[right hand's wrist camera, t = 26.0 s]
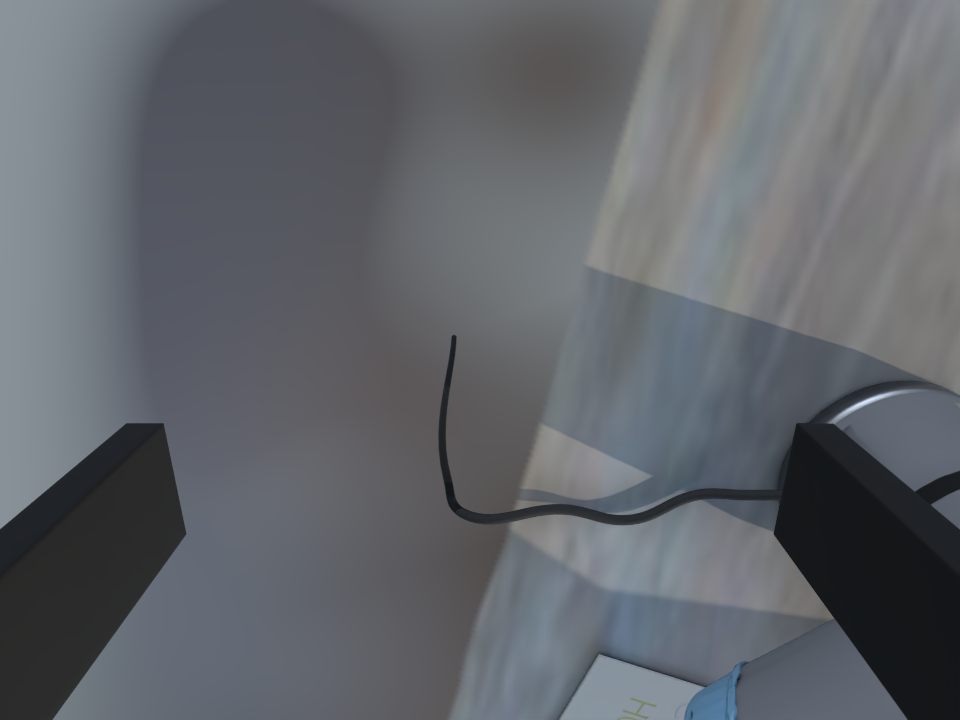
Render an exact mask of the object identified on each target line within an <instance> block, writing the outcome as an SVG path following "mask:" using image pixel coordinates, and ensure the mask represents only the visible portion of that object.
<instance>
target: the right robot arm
mask: <svg viewBox="0 0 960 720" xmlns="http://www.w3.org/2000/svg"><path fill="white" fill-rule="evenodd" d="M456 340H457V337H456V335H452V337H451V348H450V355H449V361H448V367H447V372H446V378H445V383H444V389H443V394H442V400H441V407H440V416H439V430H438V445H439V457H440V466H441V471H442V476H443V480H444V485H445V492H446V498H447V502H448V505H449V507H450V508H451V510H452V511H453V512H454V513H455V514H456V515H458V516H459V517H461V518H463V519H465V520H467V521H470V522H474V523H478V524H502V523H508V522H513V521H518V520H522V519H527V518H531V517H537V516H543V515H553V514H564V515H573V516H578V517H583V518H587V519H590V520H594V521H597V522H601V523H606V524H612V525H633V524H639V523H643V522H647V521H650V520H652V519H655V518H657V517H659V516H661V515H663V514H665V513H667V512H669V511H671V510H673V509H675V508H677V507H679V506H681V505H683V504H686V503H689V502H692V501H696V500H702V499H730V500H779V502H780V506H779V511H778V516H777V521H776V525H775V530H774V535H775V537H776V538H777V539H778V541H779V542H780V544H781V545H782V546H783V548H784V549H785V551H786V552H787V553H788V555H789V556H790V557H791V559H792V560H793V562H794V563H795V564H796V566H797V567H798V569H799V570H800V571H801V573H802V574H803V575H804V577H805V578H806V580H807V581H808V582H809V584H810V585H811V587H812V588H813V589H814V591H815V592H816V593H817V595H818V596H819V598H820V599H821V600H822V602H823V603H824V605H825V606H826V607H827V609H828V610H829V611H830V613H831V614H832V616H833V617H834V619H832V620H831V621H829V622H827V623H825V624H823V625H821V626H819V627H817V628H815V629H813V630H811V631H809V632H807V633H805V634H803V635H801V636H799V637H798V638H796V639H794V640H792V641H790V642H788V643H786V644H784V645H782V646H780V647H778V648H776V649H774V650H772V651H770V652H768V653H766V654H765V655H763V656H761V657H759V658H757V659H755V660H753V661H751V662H747V661H743V662H740V663H739V664H737V665H736V666H735V667H734V669H733V671H732V672H730V673H729V674H727V675H725V676H724V677H722V678H720V679H719V680H717V681H715V682H714V683H712V684H710V685H709V686H707V687H705V688H704V689H702V690H700V691H699V692H698V693H696V694H695V695H694V697H693V698H692V699H691V701H690V702H689V704H688V706H687V708H686V711H685V716H684V720H960V396H959V395H957V394H956V393H954V392H952V391H950V390H948V389H946V388H943V387H941V386H937V385H934V384H930V383H924V382H916V381H897V382H888V383H883V384H878V385H874V386H871V387H867V388H864V389H862V390H859V391H856V392H854V393H852V394H850V395H847V396H845V397H844V398H842V399H840V400H838V401H836V402H835V403H833V404H832V405H830V406H829V407H827V408H826V409H825V410H823V411H822V412H821V413H819V414H818V415H817V416H816V417H815V418H814V419H813V420H812V421H810V423H797V424H796V428H795V433H794V438H793V443H792V445H791V447H790V449H789V451H788V453H787V455H786V457H785V460H784V462H783V465H782V469H781V472H780V477H779V487H778V490H733V489H716V488H711V489H700V490H694V491H690V492H686V493H683V494H681V495H678V496H676V497H674V498H671V499H669V500H667V501H666V502H664V503H662V504H660V505H658V506H656V507H654V508H652V509H650V510H647V511H644V512H641V513H637V514H632V515H612V514H606V513H602V512H598V511H595V510H591V509H587V508H583V507H579V506H574V505H564V504H551V505H541V506H535V507H530V508H525V509H520V510H516V511H511V512H506V513H500V514H479V513H475V512H471V511H469V510H466V509H464V508H463V507H461V506H460V505H459V503H458V502H457V500H456V497H455V493H454V487H453V482H452V478H451V473H450V469H449V465H448V458H447V450H446V418H447V407H448V399H449V392H450V385H451V379H452V373H453V367H454V360H455V352H456ZM185 535H186V531H185V525H184V521H183V516H182V511H181V506H180V501H179V496H178V492H177V487H176V482H175V477H174V472H173V467H172V462H171V458H170V453H169V448H168V443H167V438H166V433H165V429H164V424H163V423H127V424H125V425H124V426H123V427H122V428H121V429H119V430H118V431H117V432H116V433H115V434H113V435H112V436H111V437H110V438H109V439H107V440H106V441H105V442H104V443H103V444H101V445H100V446H99V447H98V448H97V449H95V450H94V451H93V452H92V453H91V454H90V455H88V456H87V457H86V458H85V459H84V460H82V461H81V462H80V463H79V464H78V465H76V466H75V467H74V468H73V469H72V470H70V471H69V472H68V473H67V474H66V475H64V476H63V477H62V478H61V479H60V480H58V481H57V482H56V483H55V484H54V485H53V486H51V487H50V488H49V489H48V490H47V491H45V492H44V493H43V494H42V495H41V496H39V497H38V498H37V499H36V500H35V501H33V502H32V503H31V504H30V505H29V506H27V507H26V508H25V509H24V510H23V511H21V512H20V513H19V514H18V515H17V516H16V517H14V518H13V519H12V520H11V521H10V522H8V523H7V524H6V525H5V526H4V527H2V528H1V529H0V720H52V719H53V718H54V717H55V715H56V714H57V713H58V711H59V710H60V708H61V707H62V706H63V704H64V703H65V701H66V700H67V699H68V697H69V696H70V695H71V693H72V692H73V690H74V689H75V688H76V686H77V685H78V684H79V682H80V681H81V679H82V678H83V677H84V675H85V674H86V672H87V671H88V670H89V668H90V667H91V665H92V664H93V663H94V661H95V660H96V659H97V657H98V656H99V654H100V653H101V652H102V650H103V649H104V648H105V646H106V645H107V643H108V642H109V641H110V639H111V638H112V636H113V635H114V634H115V632H116V631H117V629H118V628H119V627H120V625H121V624H122V623H123V621H124V620H125V618H126V617H127V616H128V614H129V613H130V611H131V610H132V609H133V607H134V606H135V605H136V603H137V602H138V600H139V599H140V598H141V596H142V595H143V593H144V592H145V591H146V589H147V588H148V586H149V585H150V584H151V582H152V581H153V580H154V578H155V577H156V575H157V574H158V573H159V571H160V570H161V569H162V567H163V566H164V564H165V563H166V562H167V560H168V559H169V557H170V556H171V555H172V553H173V552H174V550H175V549H176V548H177V546H178V545H179V544H180V542H181V541H182V539H183V538H184V537H185Z"/></svg>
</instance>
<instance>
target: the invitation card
mask: <svg viewBox="0 0 960 720" xmlns="http://www.w3.org/2000/svg"><path fill="white" fill-rule="evenodd" d="M704 688H705V687H702V686H699V685H696V684H693V683H690V682H686V681H683V680H680V679H677V678H674V677H670V676H667V675H664V674H661V673H658V672H654V671H651V670H648V669H645V668H642V667H639V666H635V665H632V664H629V663H626V662H623V661H619V660H616V659H613V658H610V657H607V656H604V655H600V654H599V655H598V657H597V658H596V660H595V662H594V663H593V665H592V666H591V668H590V670H589V671H588V673H587V675H586V676H585V678H584V679H583V681H582V683H581V684H580V686H579V688H578V689H577V691H576V692H575V694H574V696H573V697H572V699H571V701H570V702H569V704H568V705H567V707H566V709H565V710H564V712H563V714H562V715H561V717H560V718H559V720H684V716H685V711H686V708H687V706H688V704H689V702H690V701H691V699H692V698H693V697H694V695H695V694H696V693H698V692H699V691H700V690H702V689H704Z"/></svg>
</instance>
